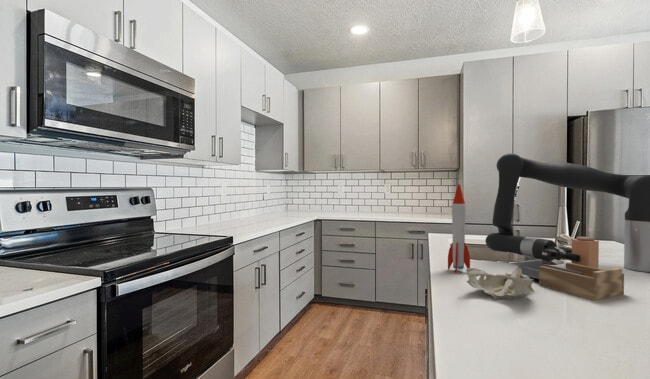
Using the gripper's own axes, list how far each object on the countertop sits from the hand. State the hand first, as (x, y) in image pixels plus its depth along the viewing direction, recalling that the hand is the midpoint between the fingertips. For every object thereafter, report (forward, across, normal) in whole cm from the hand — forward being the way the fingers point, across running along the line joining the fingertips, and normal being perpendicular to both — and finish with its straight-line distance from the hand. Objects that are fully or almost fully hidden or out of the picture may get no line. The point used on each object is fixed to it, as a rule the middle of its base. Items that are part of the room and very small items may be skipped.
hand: (587, 257), depth 106 cm
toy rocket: (-22, -32, +7) cm, 39 cm away
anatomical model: (+2, -39, +7) cm, 40 cm away
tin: (-1, 0, +6) cm, 7 cm away
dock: (+6, -15, +6) cm, 18 cm away
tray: (-2, -15, +5) cm, 16 cm away
